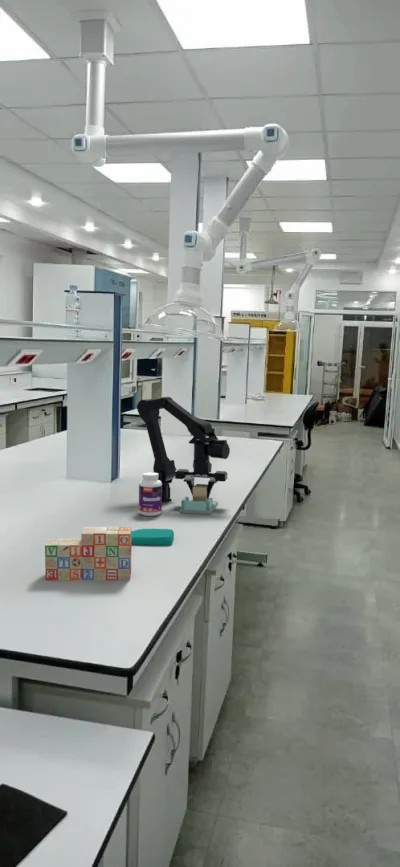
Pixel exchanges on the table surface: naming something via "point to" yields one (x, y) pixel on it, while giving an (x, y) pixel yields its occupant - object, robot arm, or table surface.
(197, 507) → the dock
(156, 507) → the pill bottle
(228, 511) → the table surface
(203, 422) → the robot arm
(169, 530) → the teal flat block
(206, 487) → the cardboard box with slot
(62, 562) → the stack of blocks
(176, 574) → the table surface
